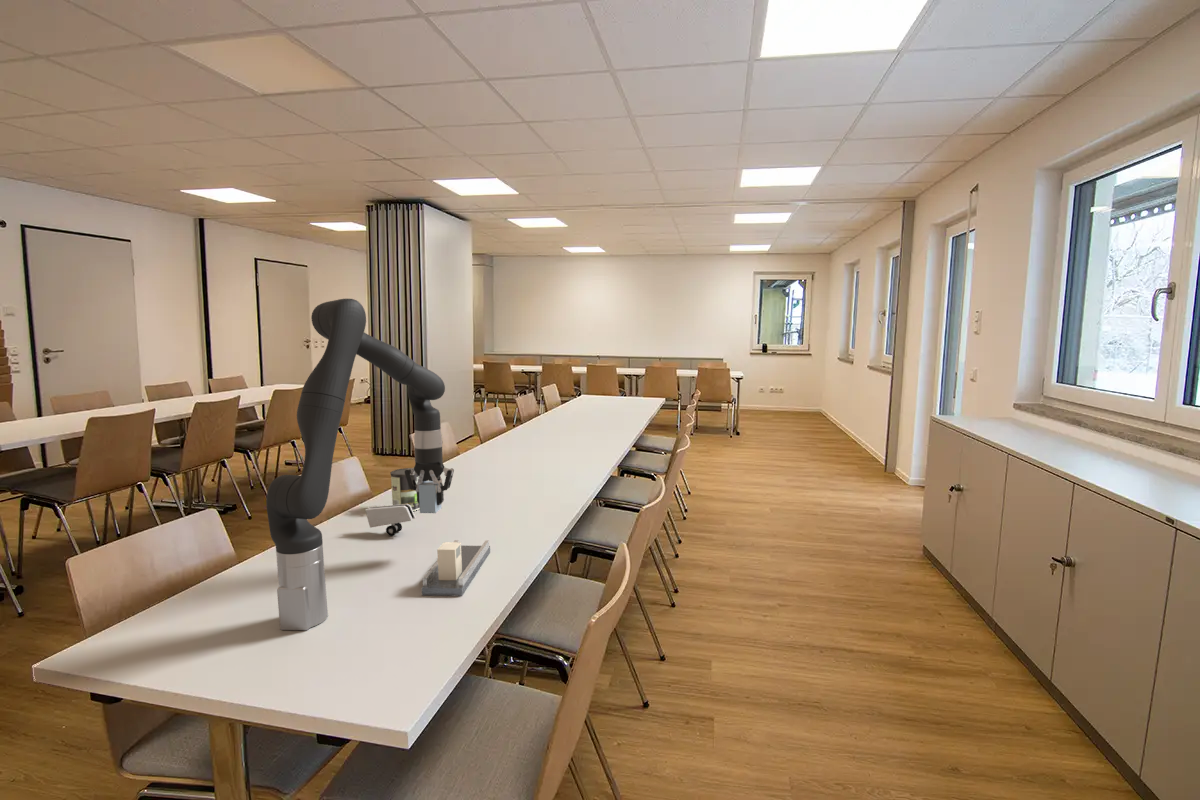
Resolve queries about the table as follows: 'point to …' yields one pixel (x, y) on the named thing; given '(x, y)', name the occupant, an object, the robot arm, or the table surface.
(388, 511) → the grey wheeled device
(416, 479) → the coffee can
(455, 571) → the block
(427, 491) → the block
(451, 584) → the tray
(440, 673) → the table surface
